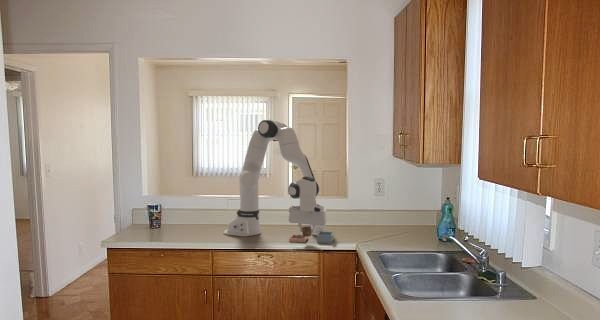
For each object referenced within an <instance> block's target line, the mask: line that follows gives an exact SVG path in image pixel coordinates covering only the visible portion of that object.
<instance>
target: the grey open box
mask: <svg viewBox="0 0 600 320" xmlns="http://www.w3.org/2000/svg"><path fill="white" fill-rule="evenodd" d="M333 242H334V231H324V232H323V231H319V232H318V234H317V235H316V243H317V244H332V243H333Z"/></svg>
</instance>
